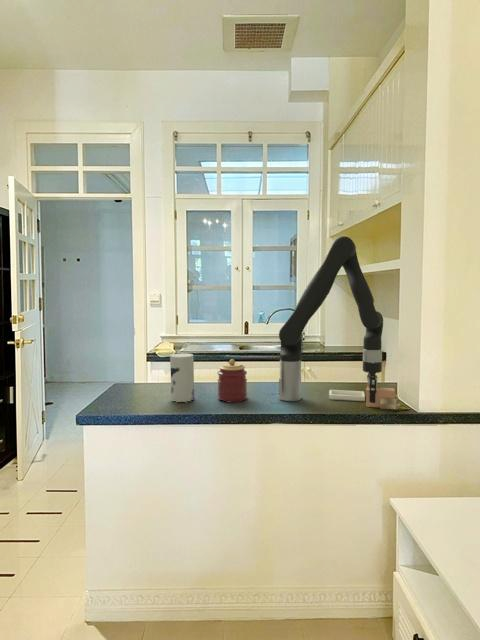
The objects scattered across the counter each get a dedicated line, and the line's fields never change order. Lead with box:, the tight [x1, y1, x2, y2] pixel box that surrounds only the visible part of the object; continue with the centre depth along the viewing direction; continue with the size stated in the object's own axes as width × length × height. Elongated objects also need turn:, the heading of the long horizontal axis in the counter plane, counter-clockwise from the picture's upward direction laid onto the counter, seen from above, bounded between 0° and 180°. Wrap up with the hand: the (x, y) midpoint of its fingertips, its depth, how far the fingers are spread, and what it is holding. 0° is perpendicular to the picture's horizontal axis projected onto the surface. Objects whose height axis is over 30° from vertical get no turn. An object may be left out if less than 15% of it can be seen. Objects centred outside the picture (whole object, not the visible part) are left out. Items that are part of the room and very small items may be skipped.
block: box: [365, 386, 396, 408], centre depth 176 cm, size 11×5×7 cm, turn 73°
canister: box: [217, 358, 248, 403], centre depth 189 cm, size 13×13×18 cm
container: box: [169, 353, 195, 401], centre depth 188 cm, size 10×10×20 cm
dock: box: [379, 393, 400, 410], centre depth 176 cm, size 7×8×4 cm
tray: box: [328, 389, 366, 402], centre depth 189 cm, size 15×9×2 cm, turn 76°
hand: (371, 400), depth 177 cm, fingers closed on block, 5 cm apart
